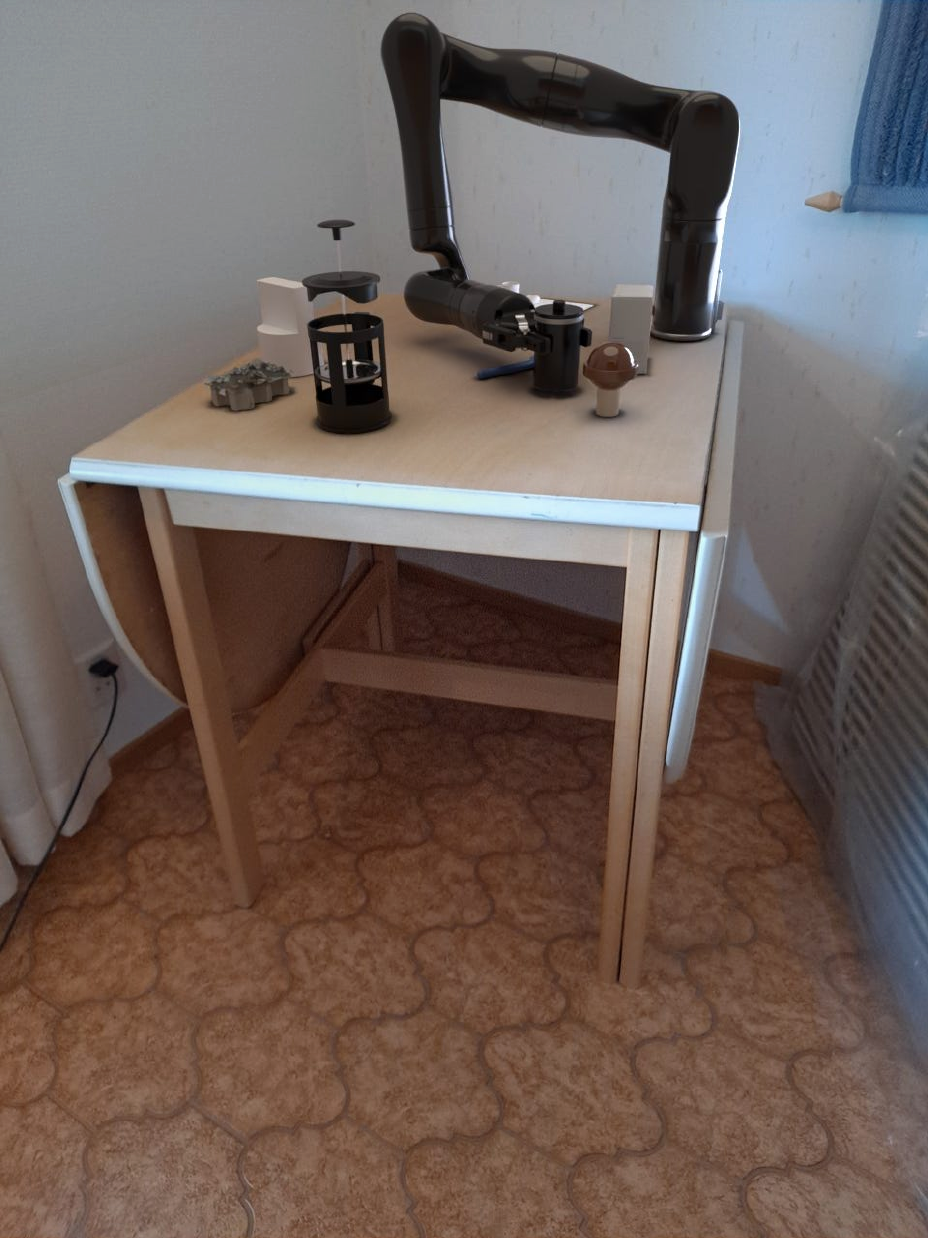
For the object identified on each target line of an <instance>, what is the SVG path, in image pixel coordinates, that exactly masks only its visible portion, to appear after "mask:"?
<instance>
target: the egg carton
mask: <svg viewBox="0 0 928 1238" xmlns="http://www.w3.org/2000/svg"><path fill="white" fill-rule="evenodd" d="M292 372H293V371H292V370H290V372H287V371H286V370H285V369H284V367H283V366H280V367H278V366H277V365H276V364H271V363H270V362H268V363H265V362H264V361H262V360H261V358H258V357H256V358H254V359H253V360H252V361H251V362H248V363H247V364H244V365H240V367H237V366H234V367H233V368H232V369H230V370H228V371H227V370H226V371H224V372H223V373H221V374H210V375H208V376H207V377H206V378H205V381H204V383H203V386H204V387H209V389H210V396H211V402H212V404H213V406H215V407H221V406H229V407H230V409H231V410H232V411H235V412H237V411H241V410H243V411H244V410H251V409H252V410H253V409H254V408H255V404H257V403H258V404H259V403H268V402H271V401H273V397H274V396H286V395H289V394H290V386H289V385H290V384H289V379H291V378H292V377H291V373H292Z"/></svg>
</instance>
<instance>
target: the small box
mask: <svg viewBox="0 0 928 1238" xmlns="http://www.w3.org/2000/svg"><path fill="white" fill-rule="evenodd" d="M654 287H655V286H654V285H653V284H622V283H621V284H618V283H617V284H614V286H613V292H612V295H611V299H610V300H611V301H610V315H609V332H608V342H618V343H621V344H623V345H625V346H626V347H627V348H628V349H629V350H630V351H631V353H632V355H633V358H634V360H635V361H637V363H638V372H637V375H639V374H640V375H646V374H647V368H648V358H649V347H650V337H651V333H650V331H651V325H652V317H653V315H652V308H653V304H654V289H655V288H654Z"/></svg>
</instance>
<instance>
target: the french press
mask: <svg viewBox="0 0 928 1238" xmlns="http://www.w3.org/2000/svg"><path fill="white" fill-rule="evenodd" d="M354 226H356V223H355V222H354V221H352V220H349V219H327V220H324V221H320V222H319V223H317V224H316V227H317V228H319V229H331V232H332V239H333V241H335V245H336V254H337V255H336V256H337V264H338V265H337V266H338V271H329V272H322V273H316V274H312V275H309V276H306V277H304V278H303V279H302V280H301V283H302V285H303V286H305V287H307V295H308V301H309V302H312V303H313V301H314V300H315V299H316V298H317V296H319V295H323V294H327V293H335V292H336V293H339V294H340V297H341V307H342V313H335V314H328V315H322V316H319V317H316V318H314V319H313V320H311V321H309V322H308V324H307V329H308V336H309V338H310V347H311V355H312V364H313V372H314V374H313V379H314V387H315V388H314V389H315V404H316V413H317V416H316V424H317V426H318V427H319V429H321V430H324V431H326V432H329V433H333V434H334V433H335V434H346V435H347V434H362V433H368V432H373V431H376V430H380V429H382V428H384V427H387V426H388V425H389V424H390V423H391V422H392V419H393V415H392V412H391V409H390V397H389V386H388V385H389V384H388V371H387V358H386V347H385V346H386V345H385V327H384V319H383V318H382V317H381V316H377V315H376V314H375V315H374V314H371V313H370V312H369V311H355V312H349V313H348V312H347V311H346V310H347V309H346V300H345V297H346V298H348V299H349V300H351V301H353V302H355V303H356V304H363V305H364V304H368V303H371V302H374V301H376V300H377V299H378V297H379V294H378V284H379V283H380V282H381V276H380V275H379V274H377V273H374V272H368V271H358V270H343V267H342V258H341V257H342V256H341V247H340V246H341V245H340V241H342V229H345V228H350V227H354ZM348 325H351V331H349V330H348ZM335 326H343V328H344V331H325V330H321V329H325V328H329V327H335ZM318 329H320V331H319V330H318ZM376 339H377V344H378V356H379V357H378V358H379V362H378V361H374V347H373V340H376ZM317 342H320V343H322V344H325V346H326V347H325V348H326V355H327V363H324V365H322V366H320V363H319V354H318V346H317ZM351 344H352V345H353V352H354V353H353V356H354V359H351V352H350V345H351ZM342 345H345V350H346V358H347V359H343V354H342ZM379 379H380V384H381V385H378V384H375V383H376V380H379ZM323 383H326V384H329V385H330V386H328V387H324V388H323Z"/></svg>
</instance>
